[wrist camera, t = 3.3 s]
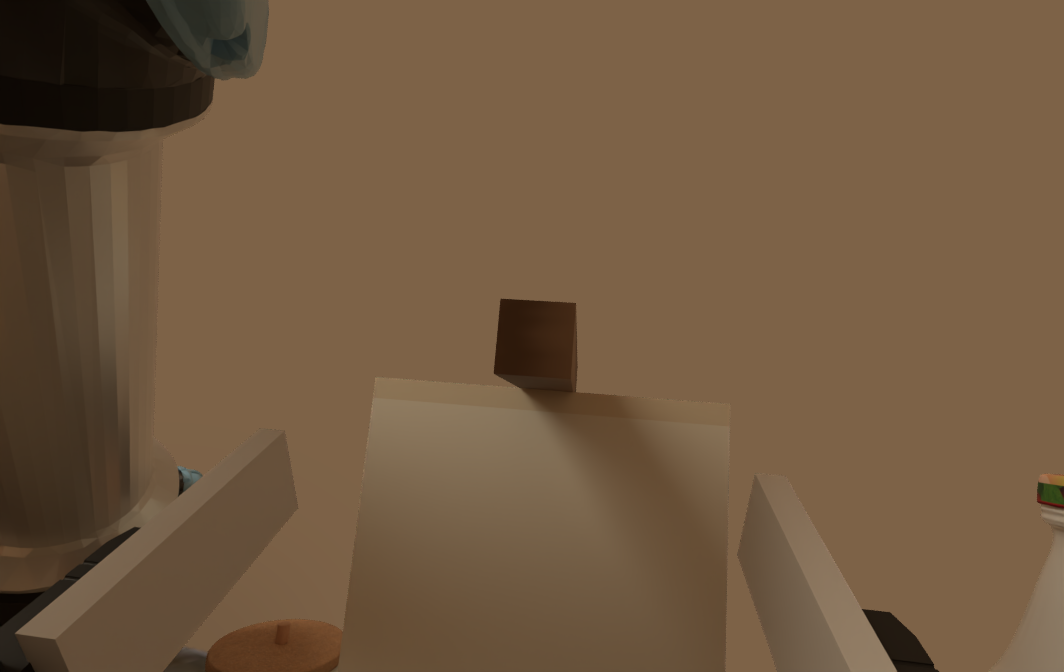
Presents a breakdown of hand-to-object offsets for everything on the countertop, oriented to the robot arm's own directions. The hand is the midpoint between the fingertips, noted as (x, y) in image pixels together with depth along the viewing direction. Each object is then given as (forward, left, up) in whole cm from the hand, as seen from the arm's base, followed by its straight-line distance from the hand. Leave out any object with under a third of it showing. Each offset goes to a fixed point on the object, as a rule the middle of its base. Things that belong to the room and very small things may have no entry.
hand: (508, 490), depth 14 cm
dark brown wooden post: (0, +17, +4) cm, 17 cm away
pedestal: (0, +22, -26) cm, 34 cm away
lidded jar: (-22, +30, -27) cm, 46 cm away
